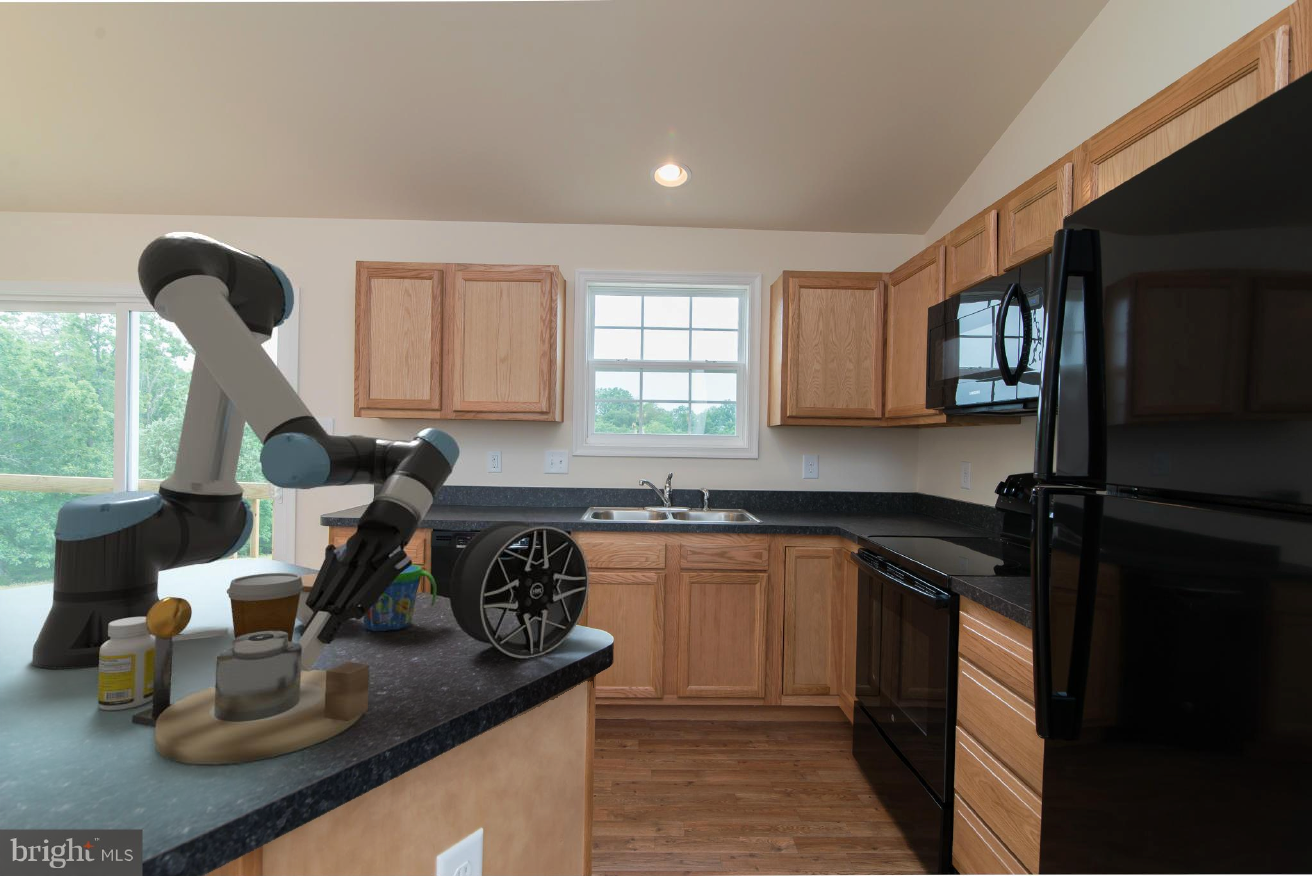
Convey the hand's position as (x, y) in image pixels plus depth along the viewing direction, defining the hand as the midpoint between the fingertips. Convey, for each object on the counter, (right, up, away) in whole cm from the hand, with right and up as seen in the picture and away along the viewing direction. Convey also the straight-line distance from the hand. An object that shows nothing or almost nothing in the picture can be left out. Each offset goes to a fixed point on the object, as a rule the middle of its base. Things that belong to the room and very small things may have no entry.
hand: (298, 665), depth 73 cm
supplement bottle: (-21, -5, 0) cm, 21 cm away
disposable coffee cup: (-14, -5, +15) cm, 21 cm away
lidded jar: (-16, -6, +35) cm, 39 cm away
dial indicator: (-12, -5, -3) cm, 13 cm away
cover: (-2, -3, -5) cm, 6 cm away
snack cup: (-4, -6, +33) cm, 34 cm away
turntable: (0, -5, -4) cm, 6 cm away
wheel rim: (+21, -6, +23) cm, 32 cm away
